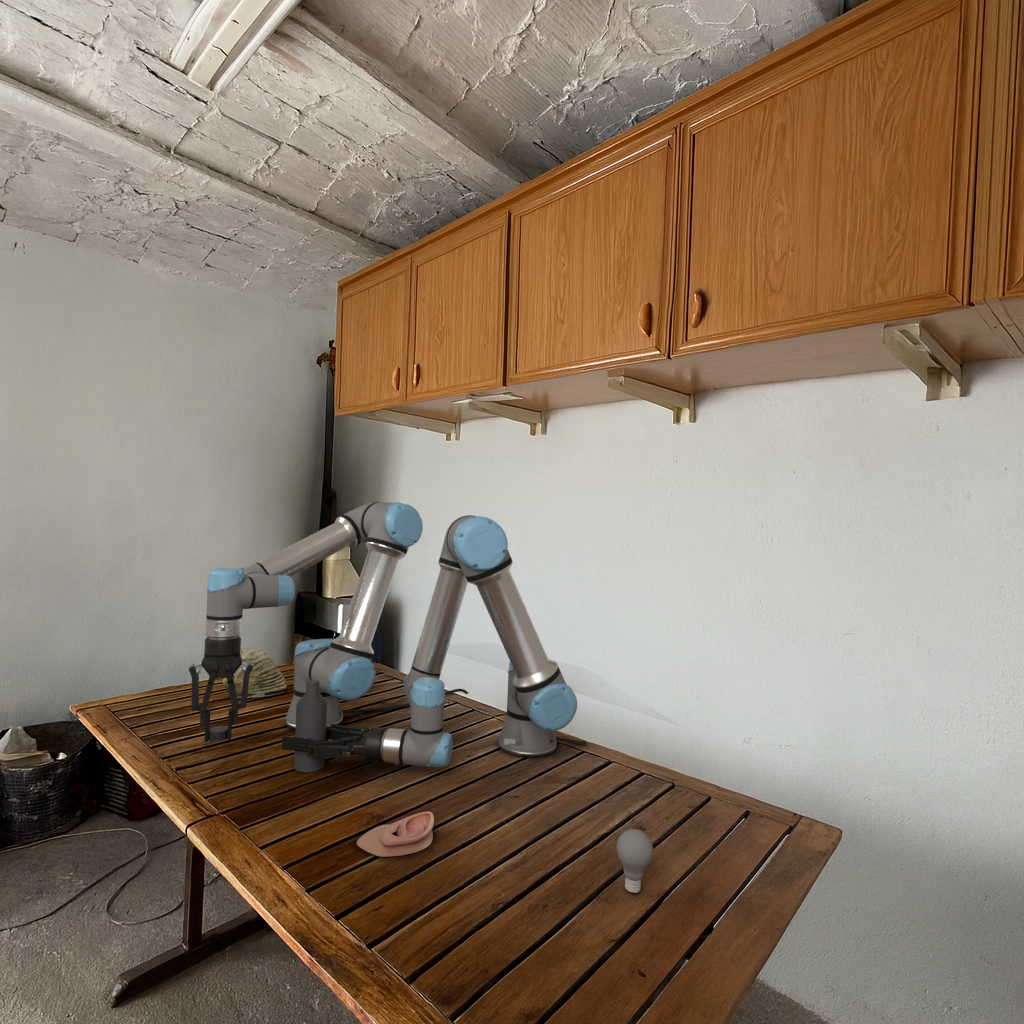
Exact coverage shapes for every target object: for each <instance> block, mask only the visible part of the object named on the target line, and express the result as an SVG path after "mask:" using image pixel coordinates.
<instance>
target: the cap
mask: <svg viewBox="0 0 1024 1024" xmlns="http://www.w3.org/2000/svg"><path fill="white" fill-rule="evenodd" d="M227 733H228V726H226V725H217V726H216V725H215V726H212V727H210V729H209V737H208V742H214V743H217V742H218V743H220V742H224V741H227Z"/></svg>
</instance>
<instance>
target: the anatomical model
mask: <svg viewBox="0 0 1024 1024" xmlns="http://www.w3.org/2000/svg"><path fill="white" fill-rule="evenodd" d="M434 826H435V815H434V814H433V812H431V811H422V812H418V813H415V814H411V815H409V816H406V817H404V818H402V819H399V820H397V821H395V822H392V823H389V824H388V823H387V824H382V825H378V826H376V827H374V828H372V829H370V830H368V831H367V832H365V833H364V834H363V835H361V836H360V837H359V838H358V839H357V841H356V845H357V847H359V848H360V849H362V850H363V851H365V852H366V853H369V854H371V855H373V856H375V857H376V856H377V857H380V858H385V857H386V858H387V857H397V856H405V855H410V854H414V853H418V852H420V851H423V850H425V849H427V848H428V847H430V845H431V844H432V842H433V838H434V834H433V829H434Z"/></svg>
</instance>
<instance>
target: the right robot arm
mask: <svg viewBox="0 0 1024 1024" xmlns="http://www.w3.org/2000/svg"><path fill="white" fill-rule="evenodd" d="M441 547H442V548H441V551H440V555H439V559H438V565H439V567H440V570H439V573H438V576H437V580H436V583H435V587H434V590H433V593H432V595H431V600H430V603H429V607H428V610H427V612H426V616H425V620H424V624H423V627H422V630H421V633H420V636H419V641H418V642H417V643H418V644H417V646H416V651H415V653H414V656H413V660H412V663H411V667H410V671H409V672H408V673H407V675H405V678H404V681H403V692H404V694H405V696H406V699H407V702H408V703H409V704H410V706H409V708H410V727H409V729H405V728H393V727H389V728H388V729H387V728H386V727H379V726H378V727H377V726H372V727H369V726H367V727H363V726H362V727H359V726H351V725H343V724H340V725H337V724H331V725H330V727H329V726H327V727H326V740H323V741H311V738H309V739H305V738H295V737H292V736H282V737H281V750H282V751H293V752H295V751H303V752H307V757H319V758H325V759H341V760H346V761H349V760H352V756H353V755H355V756H356V755H363V756H364V759H365V760H366V761H367V762H372V763H382V762H384V763H386V764H394V766H398V765H408V766H418V767H425V768H446V767H447V766H449V764H450V762H451V760H452V755H453V747H454V741H453V735H452V734H451V733H448V732H445V731H444V718H445V717H444V715H445V700H446V695H445V692H446V691H445V690H446V685H445V682H444V681H443V680H442V679H440V678H441V675H442V671H443V668H444V663H445V661H446V658H447V654H448V650H449V647H450V643H451V641H452V637H453V634H454V631H455V628H456V625H457V620H458V617H459V613H460V610H461V607H462V605H463V600H464V598H465V594H466V591H467V587H468V584H471V585H474V586H476V588H477V590H478V593H479V595H480V597H481V599H482V601H483V604H484V606H485V609H486V611H487V613H488V615H489V617H490V619H491V622H492V624H493V627H494V629H495V631H496V633H497V635H498V638H499V640H500V642H501V644H502V646H503V650H504V652H505V654H506V655H507V657H508V660H509V663H508V670H507V674H508V675H507V695H506V696H507V697H506V699H507V700H506V717H505V719H504V722H503V725H502V727H501V730H500V732H499V734H498V735H499V737H498V743H497V745H498V748H499V749H500V750H501V751H503V752H504V753H506V754H509V755H512V756H515V757H520V758H542V757H547V756H549V755H552V754H554V753H555V752H556V751H557V747H558V745H557V744H558V742H563V743H567V744H572V745H577V746H586V745H587V740H575V739H572V738H571V739H570V738H566V737H559V736H556V731H560V730H562V729H563V728H566V727H567V726H568V725H569V724H570V723H572V721H573V719H574V718H575V715H576V713H577V710H578V698H577V695H576V694H575V692H574V690H573V689H572V687H571V686H569V685H568V684H567V682H566V680H565V678H564V675H563V673H562V671H561V669H560V667H559V664H558V662H557V661H555V660H552V659H550V658H548V655H547V653H546V650H545V648H544V645H543V643H542V641H541V639H540V636H539V635H538V632H537V630H536V628H535V624H534V622H533V621H532V618H531V616H530V614H529V612H528V609H527V607H526V605H525V602H524V600H523V597H522V596H521V592H520V591H519V588H518V585H517V584H516V582H515V579H514V577H513V575H512V572H511V568H512V566H513V563H514V560H513V558H512V556H511V554H510V551H509V549H508V547H509V541H508V536H507V535H506V532H505V531H504V529H503V528H502V526H500V524H498V523H497V522H496V521H494V520H493V519H492V518H489V517H486V516H480V515H471V514H467V515H462V516H460V517H457V518H456V519H455V520H453V521H452V522H451V523H450V525H449V526H448V527H447V530H446V532H445V536H444V539H443V543H442V546H441Z"/></svg>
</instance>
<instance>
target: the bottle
mask: <svg viewBox="0 0 1024 1024" xmlns="http://www.w3.org/2000/svg"><path fill="white" fill-rule="evenodd" d="M326 718H327V701H326V699H324V697H322V695H320V693H319V680H308V681H306V693H305V694H304V696H302V698H300V700H298V703H297V704H296V730H294V733H295V734H294V735H295V737H294V738H305V739H309V738H311V741H323V740H326ZM293 758H294V762H293V768H294V770H295V771H297V772H300V773H315V772H318V771H320V770H323V769H324V767H325V766H326V758H319V757H307V752H303V751H294V757H293Z"/></svg>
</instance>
